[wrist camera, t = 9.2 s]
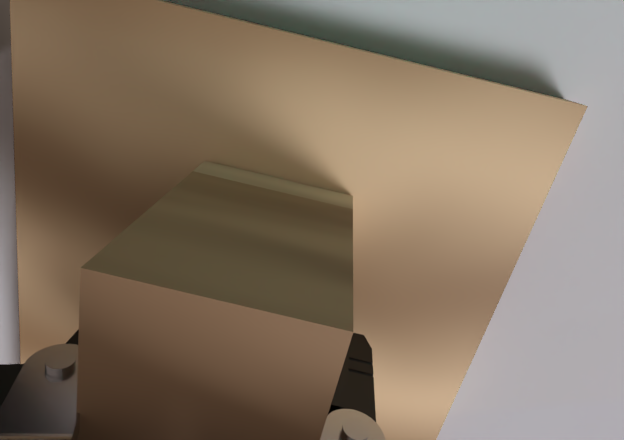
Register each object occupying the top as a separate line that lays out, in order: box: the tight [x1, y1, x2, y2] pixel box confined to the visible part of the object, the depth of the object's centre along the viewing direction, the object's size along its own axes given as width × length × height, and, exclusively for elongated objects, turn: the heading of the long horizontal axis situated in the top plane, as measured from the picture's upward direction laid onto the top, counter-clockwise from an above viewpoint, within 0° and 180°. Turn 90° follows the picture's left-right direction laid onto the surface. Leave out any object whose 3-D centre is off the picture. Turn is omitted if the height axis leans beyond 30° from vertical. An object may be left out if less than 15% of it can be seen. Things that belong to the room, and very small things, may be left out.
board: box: [10, 0, 587, 440], centre depth 16 cm, size 24×14×1 cm, turn 167°
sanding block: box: [76, 161, 353, 440], centre depth 11 cm, size 8×4×6 cm, turn 167°
